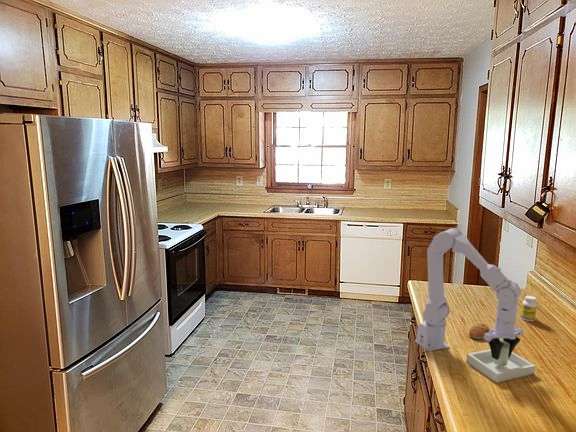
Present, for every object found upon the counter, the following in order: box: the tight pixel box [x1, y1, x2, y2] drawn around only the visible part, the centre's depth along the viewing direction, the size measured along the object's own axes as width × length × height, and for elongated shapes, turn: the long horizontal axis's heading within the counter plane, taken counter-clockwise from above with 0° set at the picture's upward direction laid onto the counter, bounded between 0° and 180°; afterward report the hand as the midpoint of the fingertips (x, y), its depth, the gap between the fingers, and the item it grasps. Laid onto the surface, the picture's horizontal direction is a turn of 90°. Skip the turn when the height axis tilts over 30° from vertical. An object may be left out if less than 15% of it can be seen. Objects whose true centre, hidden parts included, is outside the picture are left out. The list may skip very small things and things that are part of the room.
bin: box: [465, 348, 536, 384], centre depth 139 cm, size 16×13×3 cm
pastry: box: [468, 323, 491, 341], centre depth 161 cm, size 9×7×4 cm
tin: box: [493, 339, 510, 366], centre depth 138 cm, size 5×5×7 cm
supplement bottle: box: [520, 295, 538, 322], centre depth 176 cm, size 5×5×10 cm
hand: (500, 357), depth 139 cm, fingers closed on tin, 4 cm apart
